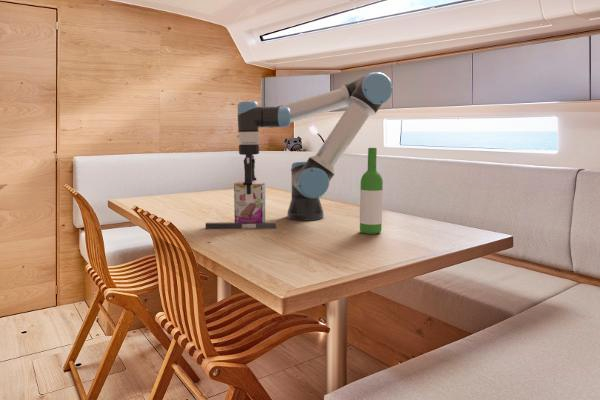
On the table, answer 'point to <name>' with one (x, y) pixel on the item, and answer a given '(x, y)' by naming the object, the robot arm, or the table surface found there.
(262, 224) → the price rail
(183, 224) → the table surface
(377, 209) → the wine bottle
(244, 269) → the table surface
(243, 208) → the candy bar box
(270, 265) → the table surface
